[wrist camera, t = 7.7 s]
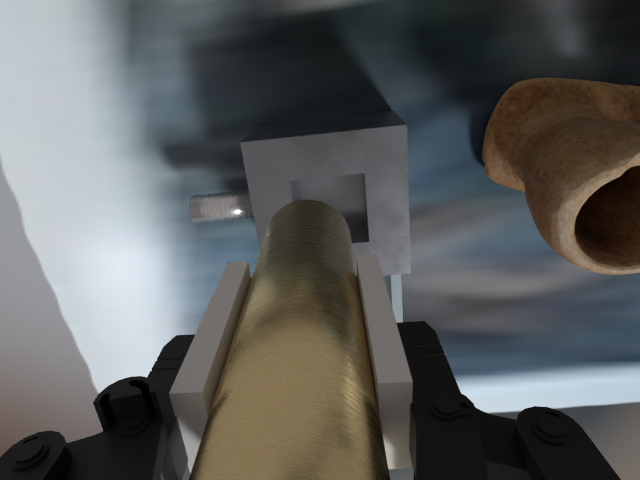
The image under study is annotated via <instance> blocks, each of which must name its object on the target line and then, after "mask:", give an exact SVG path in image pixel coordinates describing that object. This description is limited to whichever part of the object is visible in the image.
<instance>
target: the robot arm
mask: <svg viewBox="0 0 640 480" xmlns="http://www.w3.org/2000/svg"><path fill="white" fill-rule="evenodd" d="M356 263H357V280H358V287H359V293H360V299H361V305H362V312H363V318H364V324H365V330H366V337H367V343H368V349H369V355H370V362H371V368H372V374H373V381H374V387H375V393H376V399H377V406H378V412H379V416H380V421H381V427H382V433H383V439H384V446H385V452H386V458H387V464H388V469H401V468H410V463H411V459H412V464H413V468H414V480H621V479H620V478H619V477H618V475H617V474H616V473H615V472H614V470H613V469H612V468H611V466H610V465H609V463H608V462H607V461H606V459H605V458H604V457H603V455H602V454H601V453H600V451H599V450H598V449H597V447H596V446H595V445H594V443H593V442H592V441H591V439H590V438H589V437H588V435H587V434H586V433H585V431H584V430H583V429H582V427H581V426H580V425H578V423H576V422H575V421H574V420H573V419H572V418H571V417H569V416H567V415H565V414H564V413H562V412H560V411H557V410H554V409H551V408H548V407H536V406H534V407H531V408H527V409H524V410H523V411H522V412H521V413H519V414H518V417H517V420H514V419H509V418H504V417H500V416H495V415H492V414H488V413H485V412H483V411H481V410H479V409H477V408H475V407H474V404H473V403H472V402H471V401H470V400H469V399H468V398H467V397H466V396H465V395H463V394H461V392H460V390H459V388H458V385H457V383H456V380H455V378H454V375H453V373H452V371H451V368H450V366H449V363H448V361H447V358H446V356H445V355H444V351H443V349H442V346H441V345H440V341H439V339H438V337H437V334H436V332H435V330H433V329H432V328H431V327H430V326H429V325H428V324H427V323H426V322H424V321H419V322H400V323H396V320H395V316H394V313H393V309H392V305H391V302H390V298H389V295H388V291H387V287H386V284H385V280H384V277H383V273H382V269H381V266H380V262H379V259H378V255H377V254H365V255H356ZM250 282H251V276H250V269H249V262H248V261H244V262H228V263H227V265H226V268H225V270H224V272H223V274H222V276H221V279H220V281H219V283H218V285H217V288H216V290H215V292H214V294H213V296H212V299H211V301H210V303H209V305H208V308H207V310H206V312H205V314H204V316H203V319H202V321H201V323H200V325H199V328H198V330H197V332H196V334H195V335H177V336H175V337H174V338H173V339H172V340H171V341H170V342H168V343H167V344H166V345H165V346H164V347H163V349H162V351H161V353H160V355H159V357H158V358H157V361H156V362H155V364H154V366H153V368H152V371H150V373H149V375H148V377H147V378H146V377H142V376H138V377H129V378H125V379H122V380H119V381H117V382H115V383H113V384H111V385H109V386H108V387H106V388H105V389H104V390H103V391H102V392H101V393H99V394H98V396H97V398H96V399H95V401H94V406H95V409H96V411H97V414H98V417H99V419H100V422H101V425H102V428H103V432H101V433H99V434H96V435H93V436H90V437H87V438H84V439H80V440H77V441H74V442H70V443H66V440H65V438H64V437H63V436H62V435H61V434H60V433H59V432H54V431H45V432H39V433H36V434H33V435H31V436H28V437H26V438H24V439H23V440H21V441H19V442H18V443H16V444H14V445H13V446H12V447H11V448H10V449H8V450H7V451H6V452H5V453H4V454H3V455H2V456H1V457H0V480H182V477H183V474H184V471H185V468H186V465H187V463H188V466H189V470H190V474H191V471H192V468H193V465H194V461H195V458H196V455H197V452H198V449H199V445H200V442H201V439H202V436H203V433H204V429H205V426H206V423H207V420H208V417H209V413H210V410H211V407H212V404H213V400H214V397H215V394H216V391H217V388H218V384H219V381H220V378H221V375H222V372H223V368H224V365H225V362H226V359H227V356H228V352H229V349H230V346H231V343H232V339H233V336H234V333H235V330H236V327H237V323H238V320H239V317H240V314H241V311H242V307H243V304H244V301H245V298H246V295H247V291H248V288H249V285H250Z"/></svg>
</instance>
